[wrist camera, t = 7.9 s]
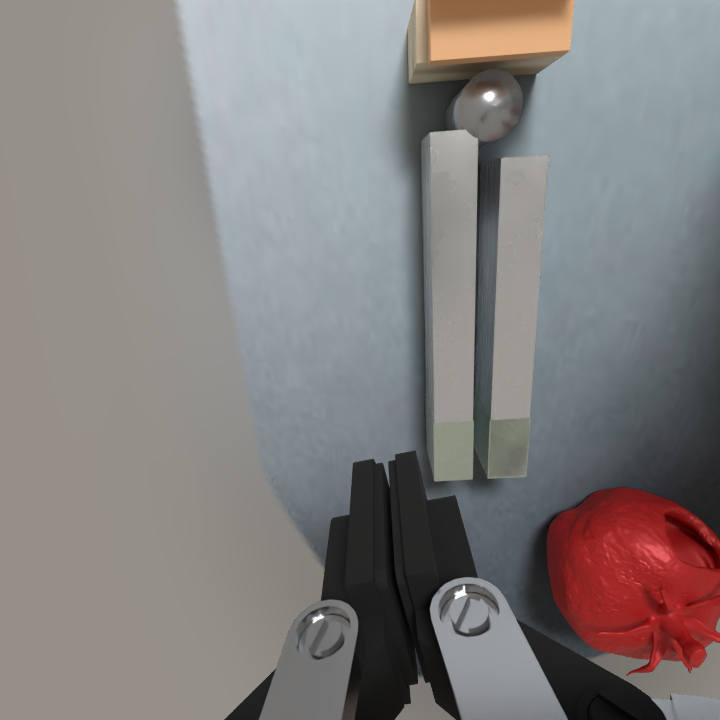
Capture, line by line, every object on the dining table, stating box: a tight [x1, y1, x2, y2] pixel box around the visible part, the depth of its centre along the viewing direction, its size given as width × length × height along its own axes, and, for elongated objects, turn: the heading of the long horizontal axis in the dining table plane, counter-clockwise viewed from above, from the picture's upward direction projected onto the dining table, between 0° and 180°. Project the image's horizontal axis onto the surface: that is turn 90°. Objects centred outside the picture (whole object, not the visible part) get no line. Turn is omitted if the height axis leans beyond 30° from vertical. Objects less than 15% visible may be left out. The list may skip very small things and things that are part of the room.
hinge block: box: [408, 0, 569, 84], centre depth 19 cm, size 6×2×4 cm, turn 94°
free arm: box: [421, 69, 523, 481], centre depth 23 cm, size 4×19×3 cm, turn 4°
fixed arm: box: [473, 155, 549, 479], centre depth 24 cm, size 2×16×4 cm, turn 4°
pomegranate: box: [547, 487, 720, 676], centre depth 26 cm, size 10×10×9 cm
